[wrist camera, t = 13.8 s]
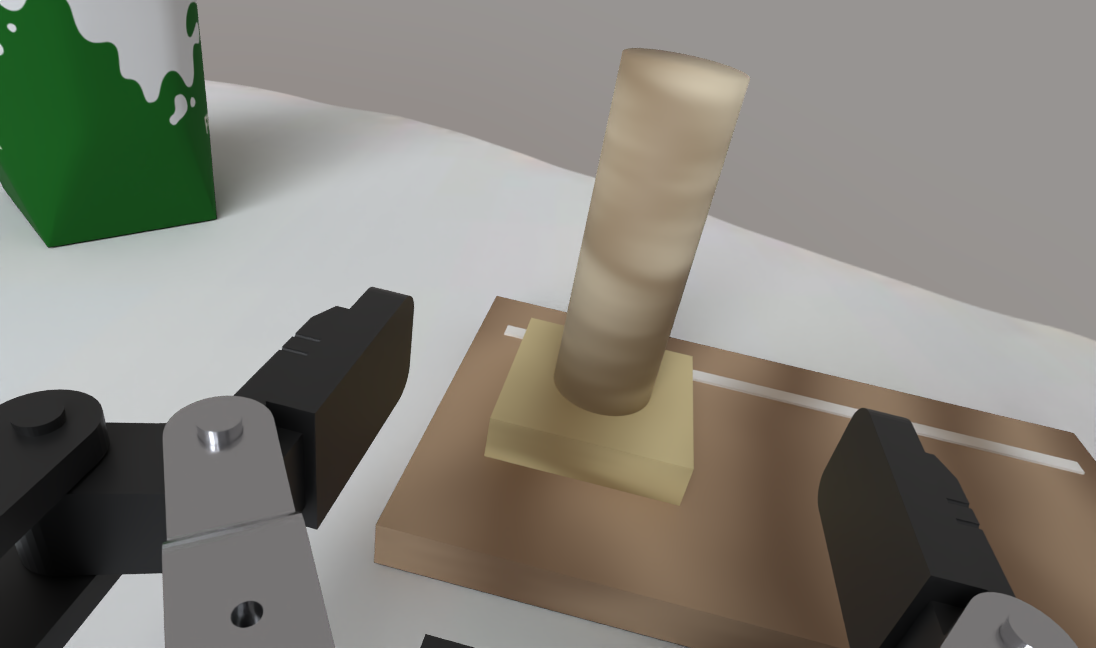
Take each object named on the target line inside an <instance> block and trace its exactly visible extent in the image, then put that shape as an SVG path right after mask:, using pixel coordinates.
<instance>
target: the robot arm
mask: <svg viewBox="0 0 1096 648" xmlns="http://www.w3.org/2000/svg"><path fill="white" fill-rule="evenodd" d="M413 314H414V302H413V298H412V297H411V296H408V295H404V294H400V293H396V292H392V291H388V290H383V289H379V288H375V287H370V288H369V289H368V290H367V291H366V292H365V293H364V294H363V295H362V296H361V297H360V298H359V299H358V300H357V302H356V303H355V304H354V305H353V306H352V307H351V308H350V309H347V308H343V307H339V306H335V307H333V308H331V309H329V310H327V311H324V312H322V313H320V314H318V315H315V316H313V317H311V318H310V319H309V320H308V321H307V322H306V323H305V324H304V325H303V326H302V327H301V328H300V329H299V330H298V331H297V332H296V335H295V337H293V336H292V337H291V338H290V339H289V340H288V341H287V342H286V343H285V344H284V345H283V346H282V350H278V351H277V352H276V353H275V354H274V355H273V356H272V357H271V358H270V359H269V360H268V361H267V362H266V363H265V364H264V365H263V366H262V367H261V368H260V369H259V370H258V371H257V372H256V373H255V374H254V375H253V376H252V377H251V378H250V379H249V380H248V381H247V382H246V384H245V385H244V386H243V387H242V388H241V389H240V390H239V391H238V392H237V393H236V394H235V395H234V396H218V397H212V398H207V399H203V400H200V401H197V402H195V403H192V404H190V405H188V406H186V407H184V408H182V409H181V410H179V411H178V412H177V413H175V414H174V415H173V416H172V417H171V418H170V419H169V421H168V422H167V423H105V418H104V414H103V410H102V407H101V404H100V403H99V402H98V401H97V400H96V399H95V398H94V397H92V396H90V395H88V394H86V393H82V392H79V391H73V390H46V391H39V392H34V393H30V394H26V395H23V396H19V397H16V398H14V399H11V400H9V401H6V402H5V403H3V404H1V405H0V648H63V647H64V646H65V645H66V643H67V642H68V641H69V640H70V638H71V637H72V636H73V635H74V633H75V632H76V631H77V630H78V628H79V627H80V626H81V625H82V624H83V622H84V621H85V620H86V619H87V617H88V616H89V615H90V614H91V612H92V611H93V610H94V609H95V607H96V606H97V605H98V604H99V602H100V601H101V600H102V599H103V597H104V596H105V595H106V594H107V593H108V591H109V590H110V589H111V588H112V586H113V585H114V584H115V583H116V581H117V580H118V579H119V578H120V576H121V575H122V574H151V573H163V601H164V630H165V648H335V646H334V642H333V637H332V633H331V629H330V625H329V621H328V617H327V613H326V609H325V604H324V600H323V596H322V592H321V588H320V584H319V580H318V575H317V571H316V567H315V563H314V559H313V555H312V551H311V546H310V542H309V538H308V534H307V530H306V527H310V528H313V529H318V528H319V526H320V524H321V523H322V521H323V520H324V518H325V516H326V515H327V513H328V512H329V510H330V509H331V507H332V505H333V504H334V502H335V501H336V499H337V497H338V496H339V494H340V493H341V491H342V490H343V488H344V486H345V485H346V483H347V482H348V480H349V478H350V477H351V475H352V474H353V472H354V470H355V469H356V467H357V466H358V464H359V463H360V461H361V459H362V458H363V456H364V455H365V453H366V451H367V450H368V448H369V447H370V445H371V444H372V442H373V440H374V439H375V437H376V436H377V434H378V432H379V431H380V429H381V428H382V426H383V424H384V423H385V421H386V420H387V418H388V417H389V415H390V413H391V412H392V410H393V409H394V407H395V405H396V404H397V402H398V401H399V399H400V397H401V395H402V393H403V390H404V388H405V385H406V382H407V378H408V373H409V367H410V355H411V341H412V327H413ZM969 504H970V503H969V501H968V499H967V497H966V495H965V493H964V491H963V489H962V487H961V485H960V483H959V481H958V479H957V478H956V477H955V476H954V475H953V474H952V473H951V472H950V471H949V470H948V469H947V467H946V466H945V465H944V464H943V463H942V462H941V461H940V460H939V459H938V458H937V457H936V456H935V455H934V454H930V453H926V452H925V450H924V448H923V446H922V444H921V442H920V440H919V437H918V435H917V433H916V431H915V429H914V426H913V424H912V423H911V421H910V420H909V419H907V418H904V417H900V416H896V415H892V414H888V413H884V412H880V411H876V410H871V409H867V408H860V409H858V410H857V411H856V412H855V413H854V415H853V416H852V418H851V420H850V422H849V424H848V426H847V428H846V429H845V431H844V433H843V435H842V437H841V439H840V441H839V443H838V445H837V447H836V449H835V450H834V452H833V454H832V456H831V458H830V460H829V462H828V464H827V466H826V468H825V470H824V472H823V474H822V477H821V480H820V484H819V489H818V509H819V513H820V518H821V522H822V526H823V531H824V535H825V540H826V544H827V549H828V553H829V558H830V562H831V566H832V571H833V575H834V580H835V584H836V589H837V593H838V598H839V602H840V606H841V611H842V615H843V620H844V624H845V629H846V633H847V638H848V642H849V646H850V648H1078V647H1077V645H1076V644H1075V642H1074V641H1073V640H1072V639H1071V638H1070V636H1069V635H1068V634H1067V633H1066V632H1065V631H1064V630H1063V629H1062V628H1061V627H1060V626H1059V625H1058V624H1057V623H1055V622H1054V621H1053V620H1052V619H1051V618H1049V617H1048V616H1047V615H1045V614H1044V613H1043V612H1041V611H1040V610H1038V609H1036V608H1035V607H1033V606H1032V605H1030V604H1028V603H1026V602H1024V601H1022V600H1020V599H1017V598H1016V597H1015V595H1014V592H1013V590H1012V588H1011V586H1010V584H1009V582H1008V580H1007V578H1006V576H1005V574H1004V572H1003V570H1002V568H1001V566H1000V564H999V562H998V560H997V558H996V556H995V554H994V552H993V550H992V548H991V546H990V544H989V542H988V540H987V538H986V536H985V534H984V532H983V530H982V529H979V525H980V524H979V522H978V520H977V518H976V516H975V514H974V512H973V510H972V509H971V508H969ZM421 648H474V647H470V646H467V645H463V644H459V643H456V642H452V641H449V640H445V639H442V638H438V637H434V636H431V635H427V634H425V637H424V640H423V642H422V645H421Z"/></svg>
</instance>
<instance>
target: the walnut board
mask: <svg viewBox="0 0 1096 648" xmlns="http://www.w3.org/2000/svg"><path fill="white" fill-rule="evenodd" d="M566 316H567V313H566V312H562V311H558V310H554V309H550V308H545V307H541V306H537V305H533V304H529V303H524V302H520V301H516V300H512V299H508V298H503V297H499V296H497V297H496V298H495V300H494V302H493V304H492V306H491V308H490V310H489V312H488V314H487V315H486V317H485V319H484V321H483V323H482V325H481V327H480V329H479V331H478V333H477V334H476V336H475V338H474V340H473V342H472V344H471V346H470V348H469V350H468V351H467V353H466V355H465V357H464V359H463V361H462V363H461V365H460V367H459V368H458V370H457V372H456V374H455V376H454V378H453V380H452V382H451V384H450V386H449V387H448V389H447V391H446V393H445V395H444V397H443V399H442V401H441V403H440V404H439V406H438V408H437V410H436V412H435V414H434V416H433V418H432V420H431V421H430V423H429V425H428V427H427V429H426V431H425V433H424V435H423V437H422V438H421V440H420V442H419V444H418V446H417V448H416V450H415V452H414V454H413V456H412V457H411V459H410V461H409V463H408V465H407V467H406V469H405V471H404V473H403V474H402V476H401V478H400V480H399V482H398V484H397V486H396V488H395V490H394V491H393V493H392V495H391V497H390V499H389V501H388V503H387V505H386V507H385V509H384V510H383V512H382V514H381V516H380V518H379V520H378V522H377V524H376V534H375V555H374V563H378V564H382V565H386V566H389V567H393V568H397V569H400V570H404V571H408V572H412V573H415V574H419V575H423V576H427V577H430V578H434V579H438V580H441V581H445V582H449V583H453V584H456V585H460V586H464V587H467V588H471V589H475V590H479V591H482V592H486V593H490V594H493V595H497V596H501V597H505V598H508V599H512V600H516V601H520V602H523V603H527V604H531V605H534V606H538V607H542V608H546V609H549V610H553V611H557V612H560V613H564V614H568V615H572V616H575V617H579V618H583V619H586V620H590V621H594V622H598V623H601V624H605V625H609V626H613V627H616V628H620V629H624V630H627V631H631V632H635V633H639V634H642V635H646V636H650V637H653V638H657V639H661V640H665V641H668V642H672V643H676V644H679V645H683V646H687V647H691V648H850V646H849V642H848V638H847V633H846V629H845V624H844V620H843V615H842V611H841V606H840V602H839V598H838V593H837V589H836V584H835V580H834V575H833V571H832V566H831V562H830V558H829V553H828V549H827V544H826V540H825V535H824V531H823V526H822V522H821V518H820V513H819V509H818V489H819V484H820V480H821V477H822V474H823V472H824V470H825V468H826V466H827V464H828V462H829V460H830V458H831V456H832V454H833V452H834V450H835V449H836V447H837V445H838V443H839V441H840V439H841V437H842V435H843V433H844V431H845V429H846V428H847V426H848V424H849V422H850V420H851V418H852V416H853V415H854V413H855V412H856V411H857V410H858V409H860V408H867V409H871V410H876V411H880V412H884V413H888V414H892V415H896V416H900V417H904V418H907V419H909V420H910V421H911V423H912V424H913V426H914V429H915V431H916V433H917V435H918V437H919V440H920V442H921V444H922V446H923V448H924V450H925V452H926V453H930V454H934V455H935V456H936V457H937V458H938V459H939V460H940V461H941V462H942V463H943V464H944V465H945V466H946V467H947V469H948V470H949V471H950V472H951V473H952V474H953V475H954V476H955V477H956V478H957V479H958V481H959V483H960V485H961V487H962V489H963V491H964V493H965V495H966V497H967V499H968V501H969V503H970V504H969V508H971V509H972V510H973V512H974V514H975V516H976V518H977V520H978V522H979V524H980V525H979V529H982V530H983V532H984V534H985V536H986V538H987V540H988V542H989V544H990V546H991V548H992V550H993V552H994V554H995V556H996V558H997V560H998V562H999V564H1000V566H1001V568H1002V570H1003V572H1004V574H1005V576H1006V578H1007V580H1008V582H1009V584H1010V586H1011V588H1012V590H1013V592H1014V595H1015V597H1016V598H1017V599H1020V600H1022V601H1024V602H1026V603H1028V604H1030V605H1032V606H1033V607H1035V608H1036V609H1038V610H1040V611H1041V612H1043V613H1044V614H1045V615H1047V616H1048V617H1049V618H1051V619H1052V620H1053V621H1054V622H1055V623H1057V624H1058V625H1059V626H1060V627H1061V628H1062V629H1063V630H1064V631H1065V632H1066V633H1067V634H1068V635H1069V636H1070V638H1071V639H1072V640H1073V641H1074V642H1075V644H1076V645H1077V647H1078V648H1096V461H1095V460H1094V459H1093V457H1092V456H1091V455H1090V453H1089V452H1088V451H1087V450H1086V448H1085V447H1084V446H1083V444H1082V443H1081V442H1080V441H1079V439H1078V438H1077V437H1076V435H1075V434H1074V433H1071V432H1067V431H1062V430H1058V429H1054V428H1050V427H1046V426H1041V425H1037V424H1033V423H1029V422H1025V421H1020V420H1016V419H1012V418H1008V417H1004V416H999V415H995V414H991V413H987V412H983V411H978V410H974V409H970V408H966V407H962V406H957V405H953V404H949V403H945V402H941V401H936V400H932V399H928V398H924V397H920V396H915V395H911V394H907V393H903V392H899V391H894V390H890V389H886V388H882V387H878V386H873V385H869V384H865V383H861V382H857V381H852V380H848V379H844V378H840V377H835V376H831V375H827V374H823V373H819V372H814V371H810V370H806V369H802V368H798V367H793V366H789V365H785V364H781V363H777V362H772V361H768V360H764V359H760V358H756V357H751V356H747V355H743V354H739V353H735V352H730V351H726V350H722V349H718V348H714V347H709V346H705V345H701V344H697V343H693V342H688V341H684V340H680V339H676V338H672V337H669V339H668V343H667V346H666V349H665V350H668V351H672V352H676V353H680V354H685V355H689V356H693V448H694V470H693V472H692V475H691V478H690V480H689V483H688V485H687V488H686V491H685V493H684V496H683V498H682V501H681V504H680V506H678V505H674V504H670V503H666V502H662V501H658V500H654V499H650V498H646V497H643V496H639V495H635V494H631V493H627V492H623V491H619V490H615V489H611V488H607V487H603V486H600V485H596V484H592V483H588V482H584V481H580V480H576V479H572V478H568V477H564V476H560V475H557V474H553V473H549V472H545V471H541V470H537V469H533V468H529V467H525V466H521V465H518V464H514V463H510V462H506V461H502V460H498V459H494V458H490V457H486V456H484V454H485V448H486V441H487V435H488V429H489V422H490V417H491V415H492V412H493V410H494V407H495V405H496V403H497V400H498V398H499V395H500V393H501V390H502V388H503V386H504V383H505V381H506V378H507V376H508V373H509V371H510V369H511V366H512V364H513V361H514V359H515V356H516V354H517V351H518V349H519V347H520V344H521V342H522V339H523V337H524V334H525V332H526V330H527V327H528V325H529V322H530V320H531V318H535V319H539V320H543V321H547V322H551V323H556V324H560V325H565V321H566Z"/></svg>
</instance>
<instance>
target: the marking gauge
mask: <svg viewBox="0 0 1096 648" xmlns="http://www.w3.org/2000/svg"><path fill="white" fill-rule="evenodd" d="M749 81H750V78H749V76H748V75H747V74H745V73H743V72H741V71H739V70H737V69H735V68H732V67H729V66H726V65H723V64H720V63H717V62H714V61H710V60H707V59H702V58H699V57H695V56H689V55H685V54H680V53H675V52H668V51H663V50H655V49H643V48H631V49H625V50H623V52H622V57H621V62H620V66H619V71H618V76H617V80H616V85H615V90H614V95H613V99H612V104H611V109H610V114H609V119H608V123H607V128H606V132H605V137H604V142H603V146H602V151H601V156H600V160H599V166H598V170H597V175H596V179H595V184H594V189H593V193H592V198H591V203H590V208H589V212H588V217H587V222H586V226H585V231H584V236H583V241H582V245H581V250H580V255H579V259H578V264H577V269H576V273H575V278H574V283H573V288H572V292H571V297H570V302H569V306H568V311H567V316H566V321H565V325H560V324H556V323H551V322H547V321H543V320H539V319H535V318H531V320H530V322H529V325H528V327H527V330H526V332H525V334H524V337H523V339H522V342H521V344H520V347H519V349H518V351H517V354H516V356H515V359H514V361H513V364H512V366H511V369H510V371H509V373H508V376H507V378H506V381H505V383H504V386H503V388H502V390H501V393H500V395H499V398H498V400H497V403H496V405H495V407H494V410H493V412H492V415H491V417H490V422H489V429H488V435H487V441H486V448H485V454H484V456H486V457H490V458H494V459H498V460H502V461H506V462H510V463H514V464H518V465H521V466H525V467H529V468H533V469H537V470H541V471H545V472H549V473H553V474H557V475H560V476H564V477H568V478H572V479H576V480H580V481H584V482H588V483H592V484H596V485H600V486H603V487H607V488H611V489H615V490H619V491H623V492H627V493H631V494H635V495H639V496H643V497H646V498H650V499H654V500H658V501H662V502H666V503H670V504H674V505H678V506H680V504H681V501H682V498H683V496H684V493H685V491H686V488H687V485H688V483H689V480H690V478H691V475H692V472H693V470H694V448H693V356H689V355H685V354H680V353H676V352H672V351H668V350H665V349H666V346H667V343H668V339H669V336H670V333H671V330H672V327H673V324H674V320H675V317H676V314H677V311H678V308H679V304H680V301H681V298H682V295H683V292H684V288H685V285H686V282H687V279H688V276H689V272H690V269H691V266H692V263H693V260H694V256H695V253H696V250H697V247H698V244H699V240H700V237H701V234H702V231H703V228H704V224H705V221H706V218H707V215H708V211H709V209H710V205H711V202H712V199H713V195H714V193H715V189H716V186H717V183H718V180H719V177H720V173H721V170H722V167H723V164H724V160H725V157H726V154H727V151H728V148H729V144H730V141H731V138H732V135H733V132H734V128H735V125H736V122H737V119H738V116H739V112H740V109H741V106H742V103H743V100H744V96H745V93H746V90H747V87H748V84H749Z"/></svg>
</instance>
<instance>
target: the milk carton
mask: <svg viewBox="0 0 1096 648" xmlns="http://www.w3.org/2000/svg"><path fill="white" fill-rule="evenodd" d="M0 182H1V184H2V186H3V188H4V190H5V191H6V192H7V194H8V195H9V196H10V198H11V199H12V200H13V202H14V203H15V204H16V205H17V207H18V208H19V209H20V211H21V212H22V213H23V215H24V216H25V217H26V219H27V220H28V221H29V223H30V224H31V225H32V227H33V228H34V229H35V231H36V232H37V233H38V235H39V236H40V237H41V239H42V240H43V241H44V243H45V244H46V245H47V247H54V246H60V245H66V244H72V243H78V242H84V241H90V240H96V239H101V238H107V237H113V236H119V235H125V234H131V233H137V232H143V231H149V230H154V229H160V228H166V227H172V226H178V225H184V224H190V223H196V222H201V221H207V220H213V219H217V215H216V204H215V192H214V181H213V169H212V157H211V145H210V133H209V121H208V111H207V101H206V91H205V81H204V71H203V61H202V51H201V41H200V31H199V21H198V11H197V0H0Z"/></svg>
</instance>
